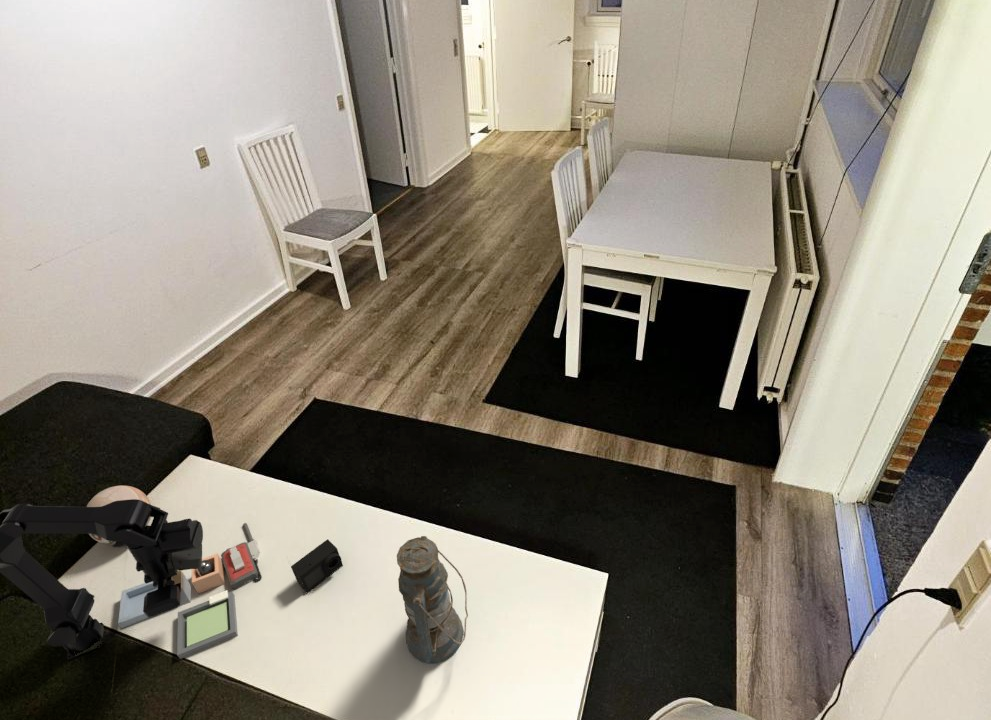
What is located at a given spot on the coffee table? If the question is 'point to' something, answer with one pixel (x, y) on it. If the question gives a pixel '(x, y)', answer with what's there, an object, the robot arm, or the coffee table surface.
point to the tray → (134, 604)
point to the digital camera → (317, 566)
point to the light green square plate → (207, 624)
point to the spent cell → (206, 568)
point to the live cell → (183, 587)
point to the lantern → (428, 602)
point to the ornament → (115, 495)
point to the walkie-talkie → (242, 562)
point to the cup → (209, 575)
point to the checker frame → (213, 640)
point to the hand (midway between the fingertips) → (177, 595)
